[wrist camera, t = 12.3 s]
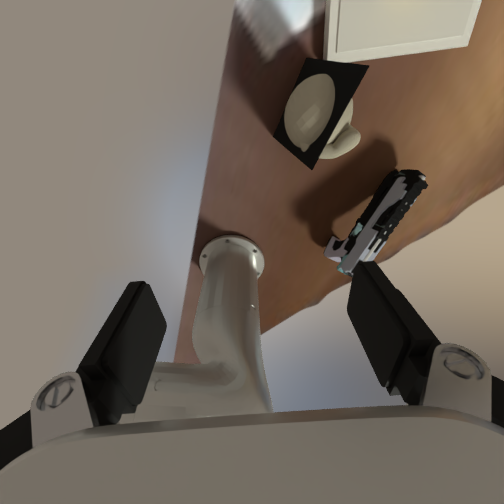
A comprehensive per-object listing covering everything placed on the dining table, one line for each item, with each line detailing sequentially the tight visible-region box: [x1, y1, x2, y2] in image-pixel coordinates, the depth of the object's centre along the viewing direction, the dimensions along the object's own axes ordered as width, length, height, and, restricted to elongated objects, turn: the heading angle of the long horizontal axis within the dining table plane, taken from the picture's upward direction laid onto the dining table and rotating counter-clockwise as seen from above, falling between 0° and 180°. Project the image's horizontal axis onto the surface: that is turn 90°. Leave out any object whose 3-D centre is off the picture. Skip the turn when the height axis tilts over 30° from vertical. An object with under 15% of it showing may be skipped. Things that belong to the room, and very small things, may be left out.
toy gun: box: [324, 169, 428, 277], centre depth 39 cm, size 2×18×11 cm, turn 150°
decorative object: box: [273, 58, 369, 170], centre depth 28 cm, size 12×10×10 cm
